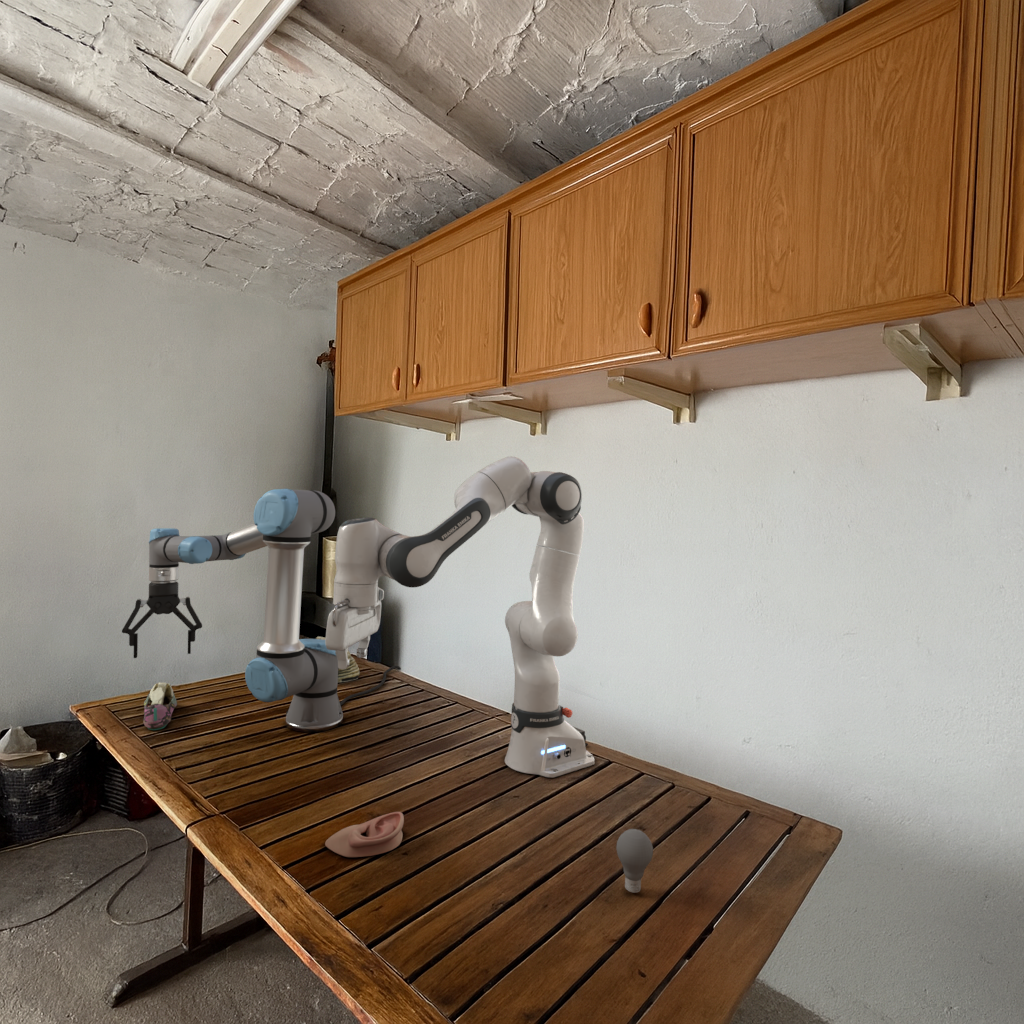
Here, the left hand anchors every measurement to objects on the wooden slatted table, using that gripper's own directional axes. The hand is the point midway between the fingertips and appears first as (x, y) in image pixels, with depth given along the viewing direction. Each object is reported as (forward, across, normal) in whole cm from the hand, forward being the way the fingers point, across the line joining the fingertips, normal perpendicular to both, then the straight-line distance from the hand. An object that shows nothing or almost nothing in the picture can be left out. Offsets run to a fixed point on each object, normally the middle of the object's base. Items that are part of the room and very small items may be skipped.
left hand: (162, 655), depth 183 cm
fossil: (+16, +50, +12) cm, 54 cm away
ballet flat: (+15, 0, -8) cm, 17 cm away
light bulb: (+19, +74, -124) cm, 146 cm away
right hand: (-12, +37, -77) cm, 86 cm away
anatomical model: (+18, +36, -92) cm, 101 cm away
